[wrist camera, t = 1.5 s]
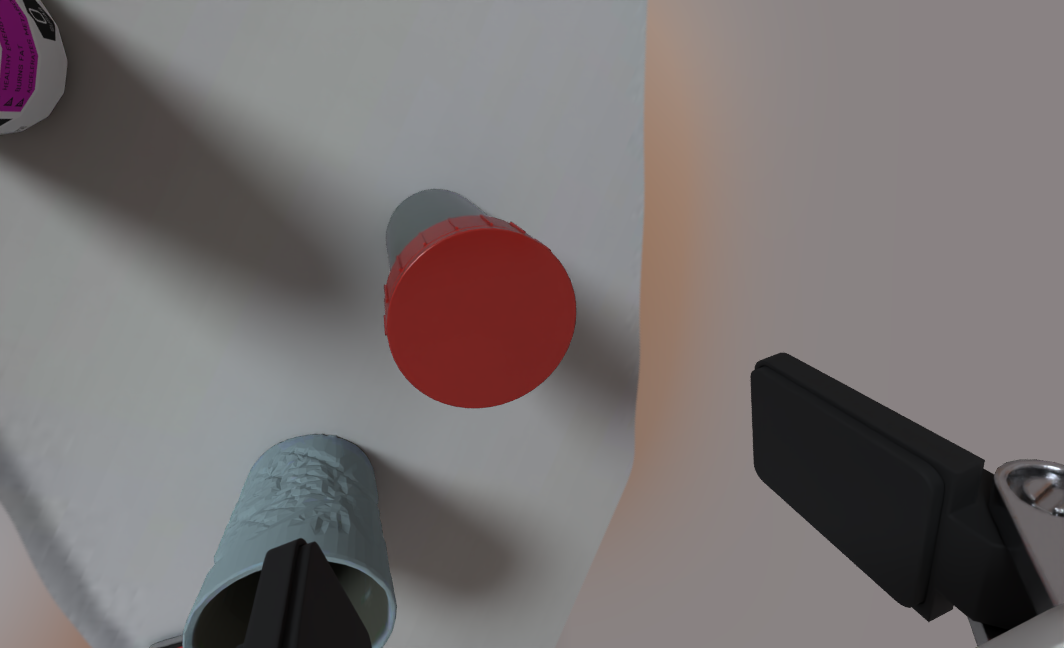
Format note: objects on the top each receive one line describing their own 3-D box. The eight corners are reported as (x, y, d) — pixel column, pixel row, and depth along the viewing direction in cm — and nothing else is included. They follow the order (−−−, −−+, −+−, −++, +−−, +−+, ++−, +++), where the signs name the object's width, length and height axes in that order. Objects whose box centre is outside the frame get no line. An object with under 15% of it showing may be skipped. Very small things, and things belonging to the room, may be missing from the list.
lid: (346, 266, 20) (343, 288, 17) (517, 182, 20) (537, 191, 18) (434, 406, 23) (442, 440, 21) (577, 329, 24) (602, 354, 21)
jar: (365, 217, 31) (364, 287, 18) (461, 171, 31) (525, 206, 19) (417, 305, 34) (446, 419, 21) (503, 261, 34) (583, 345, 22)
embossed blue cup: (243, 419, 33) (185, 562, 22) (398, 427, 37) (411, 553, 26) (234, 540, 36) (178, 716, 25) (378, 536, 40) (382, 689, 29)
